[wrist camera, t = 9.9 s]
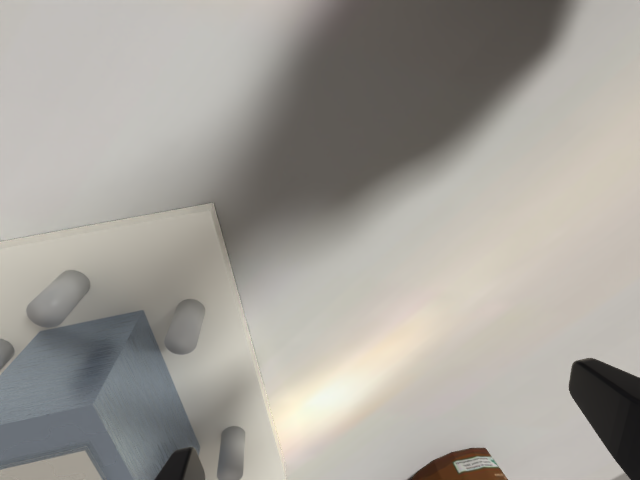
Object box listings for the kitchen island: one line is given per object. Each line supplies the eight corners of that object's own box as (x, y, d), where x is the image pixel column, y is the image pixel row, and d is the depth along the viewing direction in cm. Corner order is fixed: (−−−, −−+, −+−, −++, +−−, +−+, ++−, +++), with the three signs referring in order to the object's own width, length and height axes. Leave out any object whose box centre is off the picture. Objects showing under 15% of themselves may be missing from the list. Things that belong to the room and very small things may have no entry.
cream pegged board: (213, 202, 18) (201, 229, 15) (285, 462, 26) (288, 520, 22) (-90, 257, 17) (-176, 300, 14) (77, 511, 25) (48, 578, 21)
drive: (143, 309, 19) (90, 408, 13) (200, 447, 23) (178, 568, 17) (39, 331, 18) (-61, 442, 13) (116, 466, 22) (65, 597, 17)
